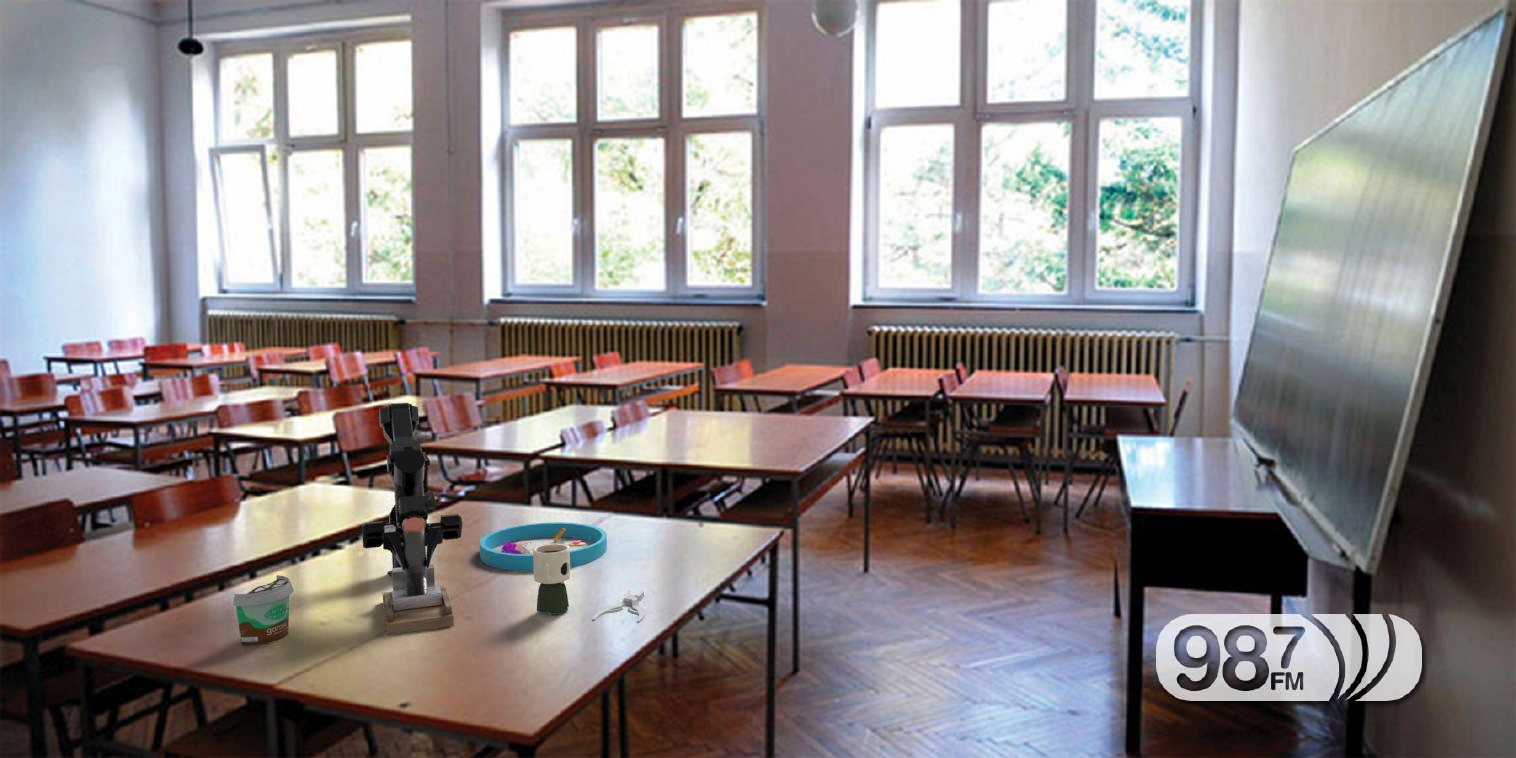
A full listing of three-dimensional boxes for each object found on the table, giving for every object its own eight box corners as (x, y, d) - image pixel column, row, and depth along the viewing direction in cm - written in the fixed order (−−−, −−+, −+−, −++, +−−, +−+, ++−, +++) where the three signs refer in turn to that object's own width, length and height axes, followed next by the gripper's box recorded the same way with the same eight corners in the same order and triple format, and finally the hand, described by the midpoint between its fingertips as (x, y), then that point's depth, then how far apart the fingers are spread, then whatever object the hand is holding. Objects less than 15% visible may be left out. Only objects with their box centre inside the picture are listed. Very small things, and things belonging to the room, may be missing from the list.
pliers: (591, 614, 191) (613, 589, 206) (591, 622, 191) (613, 597, 206) (640, 616, 190) (659, 591, 205) (640, 624, 190) (659, 598, 205)
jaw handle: (392, 602, 195) (388, 513, 193) (439, 596, 198) (436, 509, 197) (393, 611, 190) (389, 519, 188) (442, 604, 194) (438, 514, 192)
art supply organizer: (453, 564, 230) (452, 540, 229) (527, 532, 258) (526, 510, 257) (564, 578, 219) (563, 552, 219) (629, 543, 247) (628, 520, 246)
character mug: (566, 621, 191) (564, 556, 189) (529, 621, 191) (527, 556, 189) (575, 602, 202) (573, 540, 200) (540, 603, 201) (538, 541, 200)
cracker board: (383, 602, 203) (381, 568, 202) (443, 594, 207) (442, 562, 206) (387, 634, 184) (385, 598, 183) (453, 625, 189) (452, 590, 188)
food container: (265, 651, 177) (262, 596, 176) (235, 648, 178) (232, 594, 177) (309, 626, 189) (307, 576, 188) (281, 624, 190) (278, 574, 189)
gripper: (359, 482, 191) (363, 552, 182) (459, 474, 199) (467, 541, 190) (361, 513, 199) (364, 581, 191) (456, 504, 207) (464, 570, 198)
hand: (416, 568), depth 192 cm, fingers closed on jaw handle, 4 cm apart
